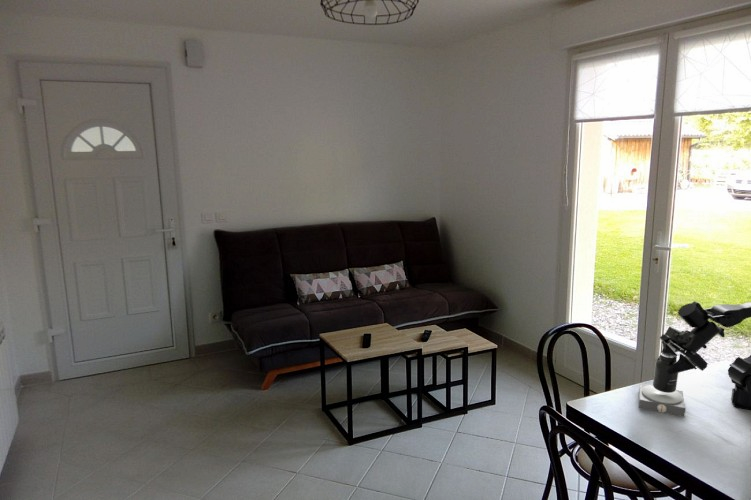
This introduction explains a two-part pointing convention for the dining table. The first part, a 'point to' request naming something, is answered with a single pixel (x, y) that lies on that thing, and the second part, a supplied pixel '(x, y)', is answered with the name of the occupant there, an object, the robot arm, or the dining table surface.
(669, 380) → the supplement bottle
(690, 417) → the dining table surface
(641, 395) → the kitchen scale
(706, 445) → the dining table surface
